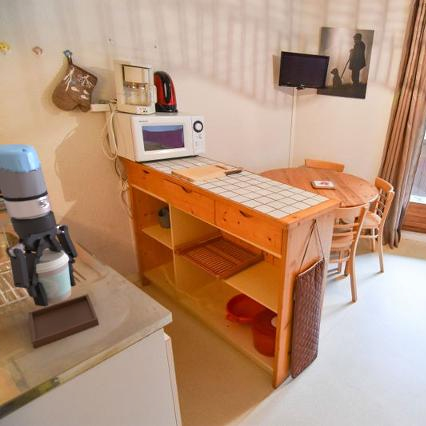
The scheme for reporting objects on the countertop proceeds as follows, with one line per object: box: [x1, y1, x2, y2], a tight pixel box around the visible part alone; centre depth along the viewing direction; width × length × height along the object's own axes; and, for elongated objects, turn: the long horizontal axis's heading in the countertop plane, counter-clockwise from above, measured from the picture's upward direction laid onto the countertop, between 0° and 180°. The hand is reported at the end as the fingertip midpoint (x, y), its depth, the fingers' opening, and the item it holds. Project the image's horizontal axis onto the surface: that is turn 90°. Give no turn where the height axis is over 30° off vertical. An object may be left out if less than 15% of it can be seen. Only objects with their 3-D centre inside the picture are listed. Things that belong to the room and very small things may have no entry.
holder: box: [27, 293, 100, 349], centre depth 85 cm, size 13×13×2 cm
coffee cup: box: [36, 249, 72, 305], centre depth 79 cm, size 8×8×12 cm
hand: (56, 294), depth 82 cm, fingers closed on coffee cup, 8 cm apart
